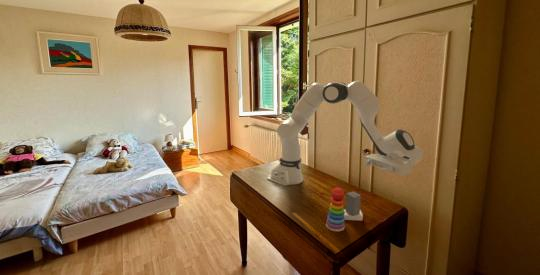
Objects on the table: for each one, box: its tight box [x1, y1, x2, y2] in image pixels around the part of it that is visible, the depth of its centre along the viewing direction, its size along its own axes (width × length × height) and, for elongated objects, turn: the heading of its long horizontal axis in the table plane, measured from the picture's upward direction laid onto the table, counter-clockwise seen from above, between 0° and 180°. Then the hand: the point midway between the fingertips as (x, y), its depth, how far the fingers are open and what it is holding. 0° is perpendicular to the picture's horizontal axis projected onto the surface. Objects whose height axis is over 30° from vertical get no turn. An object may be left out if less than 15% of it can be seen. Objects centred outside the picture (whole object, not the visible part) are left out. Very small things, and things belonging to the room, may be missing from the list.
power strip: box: [344, 208, 364, 221], centre depth 114 cm, size 11×5×4 cm, turn 83°
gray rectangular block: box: [345, 191, 362, 216], centre depth 112 cm, size 4×4×11 cm
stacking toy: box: [325, 187, 346, 232], centre depth 106 cm, size 8×8×19 cm
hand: (374, 167), depth 113 cm, fingers open, 8 cm apart
